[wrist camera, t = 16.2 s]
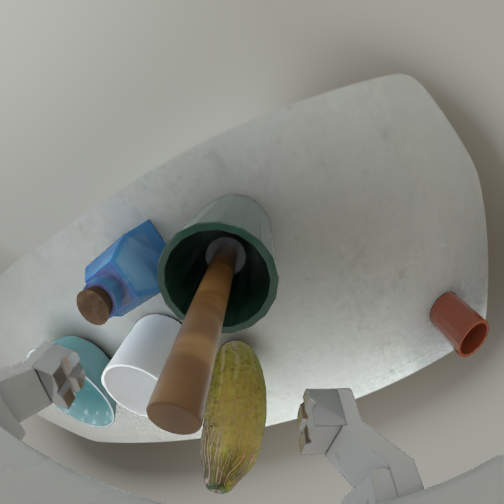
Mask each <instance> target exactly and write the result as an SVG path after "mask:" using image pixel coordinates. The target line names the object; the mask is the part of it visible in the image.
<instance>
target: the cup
mask: <svg viewBox="0 0 504 504" xmlns="http://www.w3.org/2000/svg"><path fill="white" fill-rule="evenodd" d="M217 230H221V231H225V232H229V233H232V234H236V235H239V236H240V237H242V238H243V239H245V240H246V241H248V242H249V243H248V251H247V258H246V263H245V265H244V267H243V268H242V270H241V271H239V272H238V273H236V274H234V275H233V280H232V285H231V289H230V294H229V298H228V303H227V307H226V312H225V317H224V321H223V326H222V331H221V333H233V332H237V331H240V330H243V329H246V328H248V327H251V326H253V325H254V324H255V323H256V322H258V321H259V320H260V319H261V318H263V317H264V316H265V315H266V314H267V312H268V311H269V309H270V307H271V306H272V304H273V302H274V300H275V299H276V294H277V287H278V280H279V279H278V278H279V277H278V271H277V264H276V258H275V251H274V245H273V239H272V233H271V227H270V223H269V219H268V216H267V214H266V212H265V211H264V209H263V208H262V207H261V206H260V205H259V204H258V203H257V202H256V201H254V200H252V199H251V198H248V197H246V196H243V195H226V196H222V197H220V198H218V199H216V200H214V201H213V202H211V203H210V204H209V205H207V206H206V207H205V208H204V209H203V210H202V211H201V212H200V213H198V214H197V215H196V216H195V217H194V218H193V219H192V220H191V221H189V222H188V223H187V224H186V225H185V226H184V227H183V228H182V229H181V230H180V231H178V232H177V233H176V234H175V236H174V237H173V238H172V239H171V240H170V241H169V242H168V243H167V244H166V246H165V247H164V248H163V251H162V254H161V257H160V260H159V263H158V267H157V271H158V286H159V289H160V291H161V294H162V296H163V298H164V301H165V303H166V304H167V305H168V307H169V308H170V309H171V310H172V311H173V312H174V314H175V315H176V316H177V317H179V319H181V320H182V321H183V320H184V318H185V316H186V314H187V311H188V309H189V307H190V305H191V303H192V300H193V298H194V296H195V294H196V292H197V289H198V287H199V285H200V283H201V281H202V279H203V276H204V274H205V272H206V270H207V268H208V265H207V262H206V259H205V252H206V249H207V247H208V245H209V243H210V241H211V240H212V238H213V236H214V235H215V233H216V231H217Z"/></svg>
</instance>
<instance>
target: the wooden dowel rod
mask: <svg viewBox="0 0 504 504" xmlns="http://www.w3.org/2000/svg"><path fill="white" fill-rule="evenodd" d="M248 243H249V242H248V241H246V240H245V239H243V238H242V237H240V236H239V235H236V234H232V233H229V232H225V231H221V230H217V231H216V233H215V235H214V236H213V238H212V240H211V241H210V243H209V245H208V247H207V249H206V252H205V259H206V262H207V265H208V268H207V270H206V272H205V274H204V276H203V279H202V281H201V283H200V285H199V287H198V289H197V292H196V294H195V296H194V298H193V300H192V303H191V305H190V307H189V309H188V311H187V314H186V316H185V318H184V320H183V323H182V325H181V327H180V329H179V332H178V334H177V336H176V339H175V341H174V343H173V345H172V348H171V350H170V352H169V355H168V357H167V359H166V362H165V364H164V366H163V369H162V371H161V374H160V376H159V378H158V381H157V383H156V385H155V388H154V390H153V393H152V395H151V398H150V400H149V403H148V405H147V408H146V412H147V416H148V417H149V419H150V420H151V421H152V422H153V423H154V424H155V425H156V426H158V427H159V428H161V429H163V430H165V431H168V432H171V433H175V434H181V435H187V434H193V433H195V432H197V431H198V430H199V429H200V428H201V426H202V422H203V417H204V412H205V407H206V402H207V398H208V393H209V388H210V383H211V378H212V373H213V368H214V364H215V359H216V354H217V349H218V345H219V340H220V335H221V331H222V326H223V321H224V317H225V312H226V307H227V303H228V298H229V294H230V289H231V285H232V280H233V275H234V274H236V273H238V272H239V271H241V270H242V268H243V267H244V265H245V263H246V258H247V251H248Z"/></svg>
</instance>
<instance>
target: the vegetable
mask: <svg viewBox="0 0 504 504" xmlns="http://www.w3.org/2000/svg"><path fill="white" fill-rule="evenodd" d="M265 422H266V387H265V381H264V377H263V371H262V368H261V366H260V363H259V360H258V358H257V356H256V354H255V353H254V351H253V350H252V349H251V347H250V346H249V345H247V344H246V343H244V342H242V341H231V342H228V343H226V344H224V345H223V346H222V347H221V348H220V349H219V350H218V352H217V354H216V359H215V364H214V368H213V373H212V378H211V383H210V388H209V393H208V398H207V402H206V408H205V414H204V422H203V430H202V436H201V450H200V456H201V463H202V467H203V473H204V483H205V485H206V487H207V489H208V490H210V491H211V492H214V493H218V494H224V493H227V492H229V491H231V490H232V489H233V487H235V485H236V484H237V483H238V482H239V481H240V480H241V479H242V478H243V477H244V476H245V475H246V474H247V473H248V472H249V471H250V470H251V468H252V467H253V465H254V464H255V461H256V459H257V456H258V453H259V450H260V446H261V443H262V438H263V435H264V429H265Z"/></svg>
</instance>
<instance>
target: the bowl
mask: <svg viewBox="0 0 504 504" xmlns="http://www.w3.org/2000/svg"><path fill="white" fill-rule="evenodd" d="M52 342H53V343H55V344H58V345H61V346H63V347H66V348H68V349H71V350H74V351H76V352H78V354H79V357H80V361H79V363H80V365H81V366H82V367H83V368H84V371H85V377H86V379H85V383H84V386H83V388H82V389H81V391H78V392H76V393H75V396H76V399H75V400H74V402H73V403H72V405H71V406H70V408H69V409H66V408H63V407H61V406H59V405H56V404H54V403H53V404H54V405H55V406H56V407H57V408H59V409H60V410H61V411H63V412H64V413H65V414H67V415H68V416H70V417H72V418H74V419H75V420H77V421H79V422H82V423H84V424H87V425H90V426H94V427H100V428H104V427H109V426H111V425H112V424H113V423H114V421H115V412H116V401H115V400H114V399H113V398H112V397H111V396H110V395H109V393H108V392H107V390H106V389H105V387H104V386H103V385H102V382H101V376H102V373H103V371H104V369H105V367H106V366H107V365H108V364H109V362H110V360H109V359H108V357H107V356H106V355H105V353H104V352H103V351H102V350H101V349H99V348H98V347H97V346H96V345H94V344H93V343H91V342H89V341H87V340H85V339H82V338H80V337H76V336H66V337H63V338H60V339H57V340H55V341H52ZM37 348H38V347H37ZM37 348H35V349H33V350H31V351H30V352H29V354H28V357H29V356H30V355H31V354H32V353H33V352H34V351H35V350H36V349H37ZM28 357H27V358H28Z"/></svg>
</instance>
